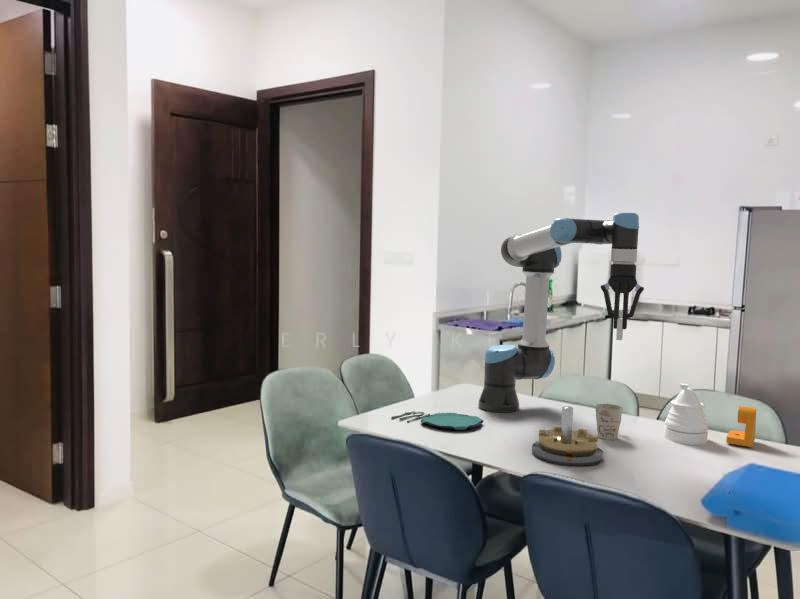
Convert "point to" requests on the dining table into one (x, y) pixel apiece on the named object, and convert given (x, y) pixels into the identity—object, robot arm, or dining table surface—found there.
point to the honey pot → (686, 419)
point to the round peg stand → (567, 438)
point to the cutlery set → (445, 420)
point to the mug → (608, 420)
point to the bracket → (745, 438)
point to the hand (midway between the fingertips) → (619, 339)
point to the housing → (567, 457)
